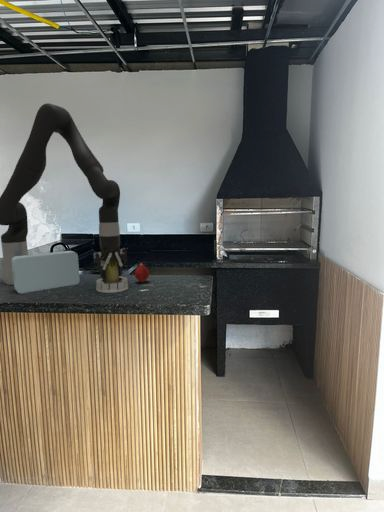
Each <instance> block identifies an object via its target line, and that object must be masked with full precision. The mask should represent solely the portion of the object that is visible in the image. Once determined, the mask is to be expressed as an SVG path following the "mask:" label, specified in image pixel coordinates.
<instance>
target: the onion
mask: <svg viewBox="0 0 384 512" xmlns="http://www.w3.org/2000/svg"><path fill="white" fill-rule="evenodd" d="M134 277H135V279H136V280H138V281H139V282H140V283H145V281H147V280H148V278H149V277H150V271H149V269H148V268H147V267H146V266H145V265H144V264H143V263H139V266H138V267H136V268H135V271H134Z"/></svg>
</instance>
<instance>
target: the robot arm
mask: <svg viewBox="0 0 384 512" xmlns="http://www.w3.org/2000/svg"><path fill="white" fill-rule="evenodd" d="M54 133H56V134H59V135H60V136H61V137H62V138H63V139H64V140H65V141H66V143H67V145H68V146H69V148H70V150H71V153H72V157H73V159H74V161H75V164H76V165H77V167H78V168H79V169H80V170H81V172H82V173H83V175H84V176H85V177H86V179H87V181H88V183H89V186H90V188H91V190H92V192H93V193H94V194H95V195H96V197H98V199H100V200H102V205H101V206H100V207H99V208H98V221H99V224H98V235H99V237H98V238H99V247H100V248H99V249H100V250H99V252H93V253H92V259H93V265H94V269H98V270H99V274H100V275H99V277H100V278H102V279H106V270H105V268H106V266H107V265H108V263H109V261H112V260H113V261H115V260H116V259H117V267H118V271H119V276H122V275H123V266H124V265H126V264H127V260H128V259H127V257H128V250H127V249H126V248H120V246H121V235H120V234H121V233H120V232H121V230H120V224H119V206H120V200H121V191H120V185H119V184H118V182H117V181H114V180H112V179H107V177H106V176H105V174H104V167H103V165H102V164H101V163H100V161H99V160H98V158H97V157H96V156H95V154H94V153H93V152H92V150H91V149H90V147H89V146H88V144H87V143H86V140H84V138H83V137H82V135H81V132H80V130H79V129H78V127H77V126H76V124H75V121H74V119H73V117H72V116H71V114H70V112H69V111H68V110H67V109H65V108H64V107H62V106H59V105H56V104H53V103H47V102H46V103H44V104H42V105H41V106H39V108H38V110H37V112H36V115H35V117H34V121H33V123H32V127H31V130H30V133H29V136H28V138H27V141H26V142H25V145H24V148H23V151H22V152H21V154H20V156H19V158H18V160H17V163H16V165H15V167H14V170H13V172H12V174H11V176H10V179H9V180H8V183H7V184H6V187H5V189H4V190H3V192H2V193H1V195H0V226H8V228H7V230H6V231H5V232H4V233H2V234H1V235H0V242H1V249H2V250H1V251H2V259H3V260H1V270H2V271H1V272H2V279H3V284H5V285H8V286H14V280H13V271H12V262H11V260H12V258H13V257H15V256H24V255H29V252H28V251H29V250H28V241H27V237H28V233H29V231H28V230H29V226H28V225H29V224H28V221H29V220H28V211H27V209H26V206H25V205H24V204H23V203H22V202H21V200H22V198H23V197H24V196H25V195H26V194H27V193H28V192H30V191H31V190H32V189H34V187H35V186H36V185H37V184H38V183H39V181H40V179H41V177H42V176H43V173H44V172H45V169H46V166H47V147H48V143H49V142H50V139H51V138H52V136H53V134H54ZM103 258H104V259H105V260H106V261H103Z"/></svg>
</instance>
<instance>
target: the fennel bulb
mask: <svg viewBox="0 0 384 512" xmlns="http://www.w3.org/2000/svg"><path fill="white" fill-rule="evenodd" d="M103 261H106V260H105V259H104V258H103ZM105 270H106V279H104V281H105V282H109V283H111V282H118V281H119V271H118V267H117V259H116V260H115V261H113V260H112V261H109V263H108V264H107V266H106V268H105Z"/></svg>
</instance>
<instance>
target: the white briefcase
mask: <svg viewBox="0 0 384 512" xmlns="http://www.w3.org/2000/svg"><path fill="white" fill-rule="evenodd" d="M11 262H12V271H13V280H14V285H13V287H14V289H15V291H16V292H17V293H19V294H26V293H31V292H38V291H44V289H45V290H51V289H57V288H63V287H68V286H69V287H70V286H74V285H78V284H80V282H81V281H80V280H81V279H80V267H79V266H80V264H79V256H78V253H77V252H75V251H72V250H65V251H62V250H61V251H55V252H54V251H53V252H46V253H45V252H43V253H35V254H34V253H33V254H28V255H24V256H15V257H13V258H12V260H11Z"/></svg>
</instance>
